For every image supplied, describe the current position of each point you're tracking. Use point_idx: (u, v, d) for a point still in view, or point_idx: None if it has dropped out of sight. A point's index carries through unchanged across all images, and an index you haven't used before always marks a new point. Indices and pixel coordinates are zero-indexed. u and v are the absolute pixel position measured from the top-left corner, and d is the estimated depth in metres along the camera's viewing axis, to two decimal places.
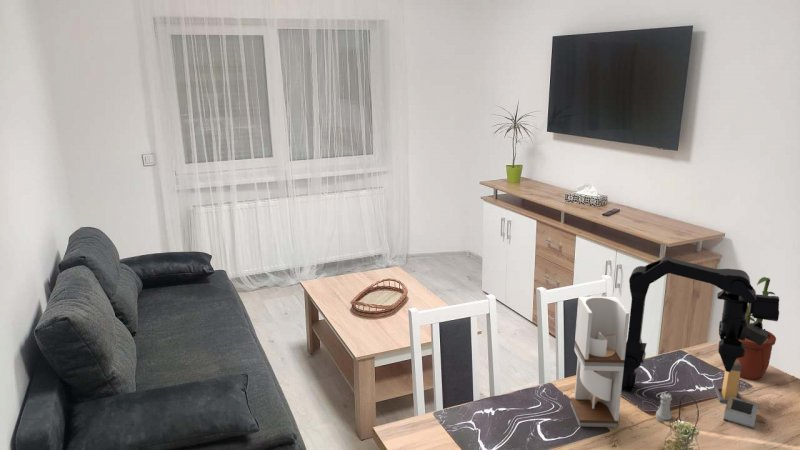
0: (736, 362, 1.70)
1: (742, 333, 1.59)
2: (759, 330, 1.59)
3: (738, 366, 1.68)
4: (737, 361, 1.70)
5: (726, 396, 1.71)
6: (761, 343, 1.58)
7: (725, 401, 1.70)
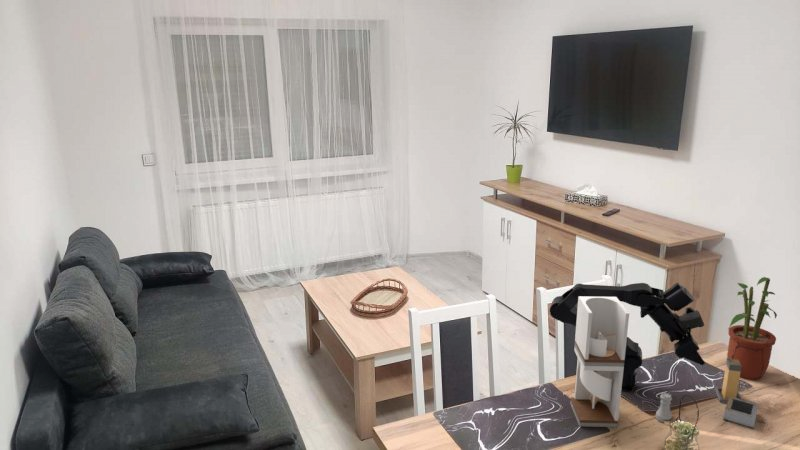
0: (736, 362, 1.70)
1: (682, 328, 1.69)
2: (692, 315, 1.70)
3: (738, 366, 1.68)
4: (737, 361, 1.70)
5: (726, 396, 1.71)
6: (701, 324, 1.67)
7: (725, 401, 1.70)
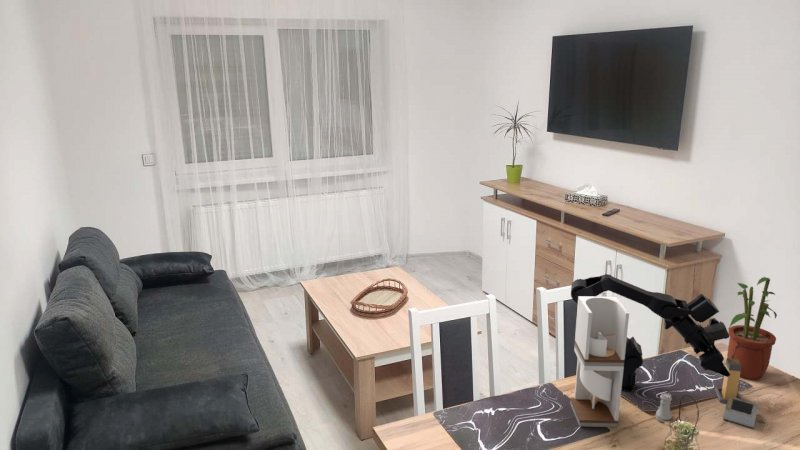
0: (736, 362, 1.70)
1: (707, 340, 1.68)
2: (716, 326, 1.69)
3: (738, 366, 1.68)
4: (737, 361, 1.70)
5: (726, 396, 1.71)
6: (726, 335, 1.66)
7: (725, 401, 1.70)
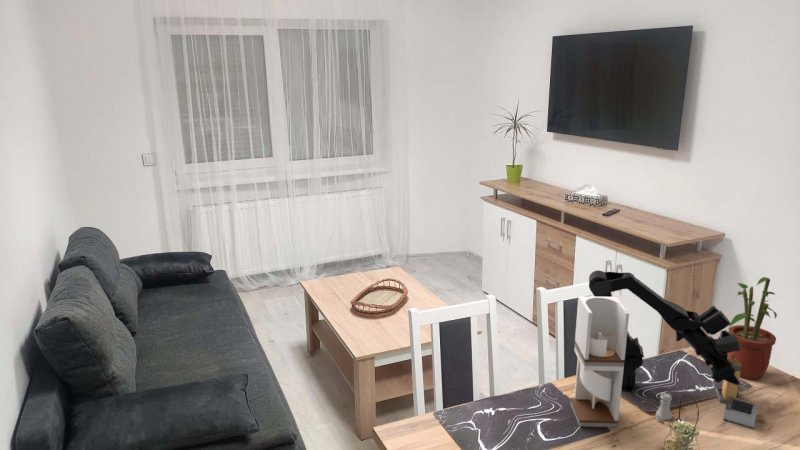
0: (736, 362, 1.70)
1: (719, 352, 1.68)
2: (728, 339, 1.69)
3: (738, 366, 1.68)
4: (737, 361, 1.70)
5: (726, 396, 1.71)
6: (738, 348, 1.66)
7: (725, 401, 1.70)
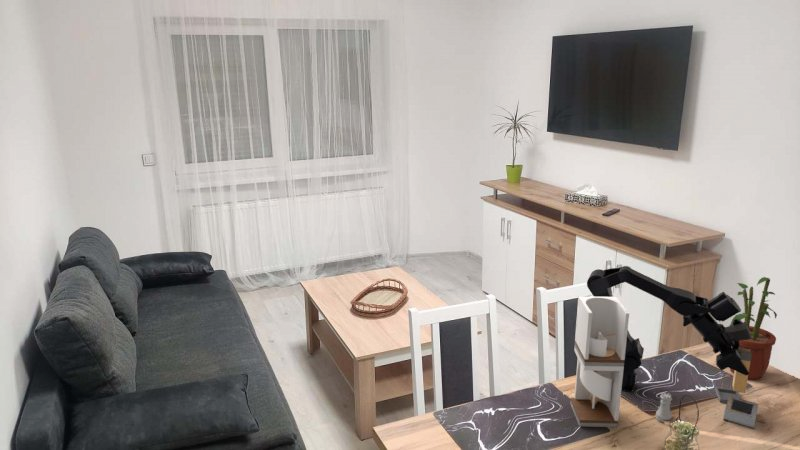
0: (747, 352, 1.63)
1: (727, 339, 1.62)
2: (738, 327, 1.63)
3: (748, 356, 1.62)
4: (748, 351, 1.64)
5: (735, 386, 1.65)
6: (747, 336, 1.60)
7: (725, 401, 1.70)
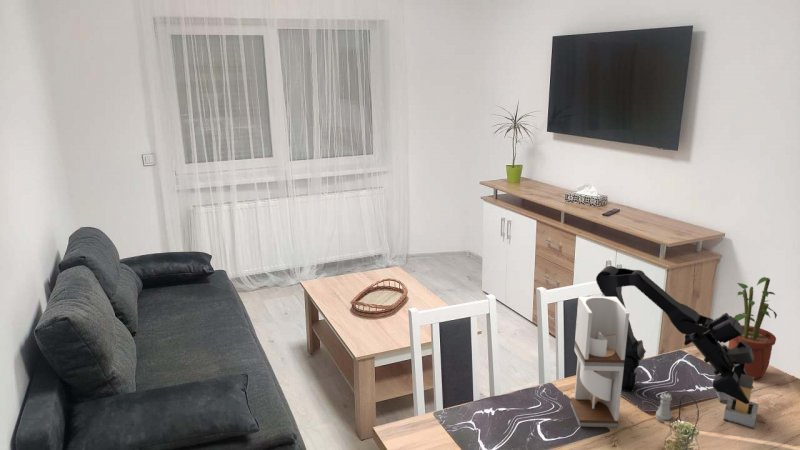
0: (749, 379, 1.60)
1: (727, 362, 1.59)
2: (741, 350, 1.59)
3: (749, 383, 1.58)
4: (751, 378, 1.60)
5: None
6: (748, 360, 1.56)
7: (725, 401, 1.70)
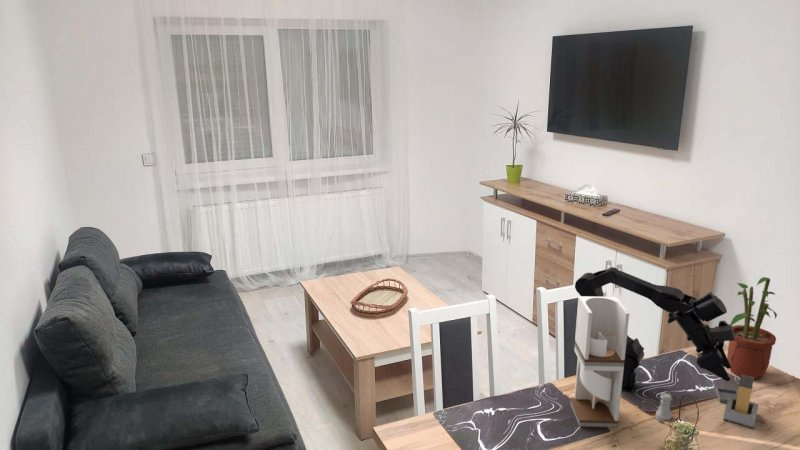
0: (749, 379, 1.60)
1: (710, 339, 1.61)
2: (723, 328, 1.62)
3: (749, 383, 1.58)
4: (751, 378, 1.60)
5: None
6: (731, 338, 1.59)
7: (725, 401, 1.70)
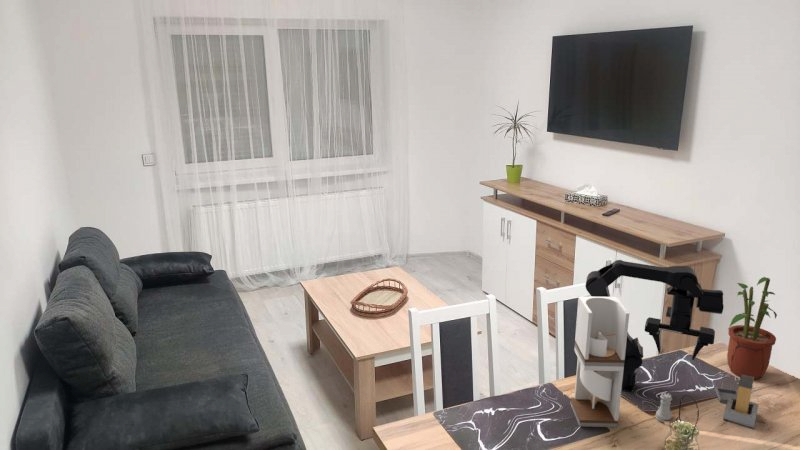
0: (749, 379, 1.60)
1: (691, 320, 1.71)
2: None
3: (749, 383, 1.58)
4: (751, 378, 1.60)
5: None
6: None
7: (725, 401, 1.70)
